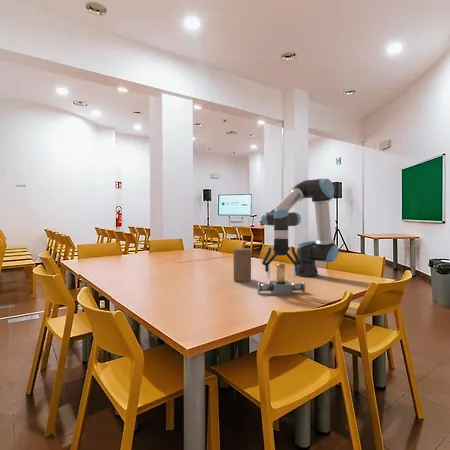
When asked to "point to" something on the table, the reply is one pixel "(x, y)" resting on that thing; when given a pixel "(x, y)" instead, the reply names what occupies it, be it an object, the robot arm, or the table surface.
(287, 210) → the robot arm
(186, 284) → the table surface
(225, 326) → the table surface
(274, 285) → the valve body
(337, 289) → the table surface
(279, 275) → the valve handle
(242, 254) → the wooden block
